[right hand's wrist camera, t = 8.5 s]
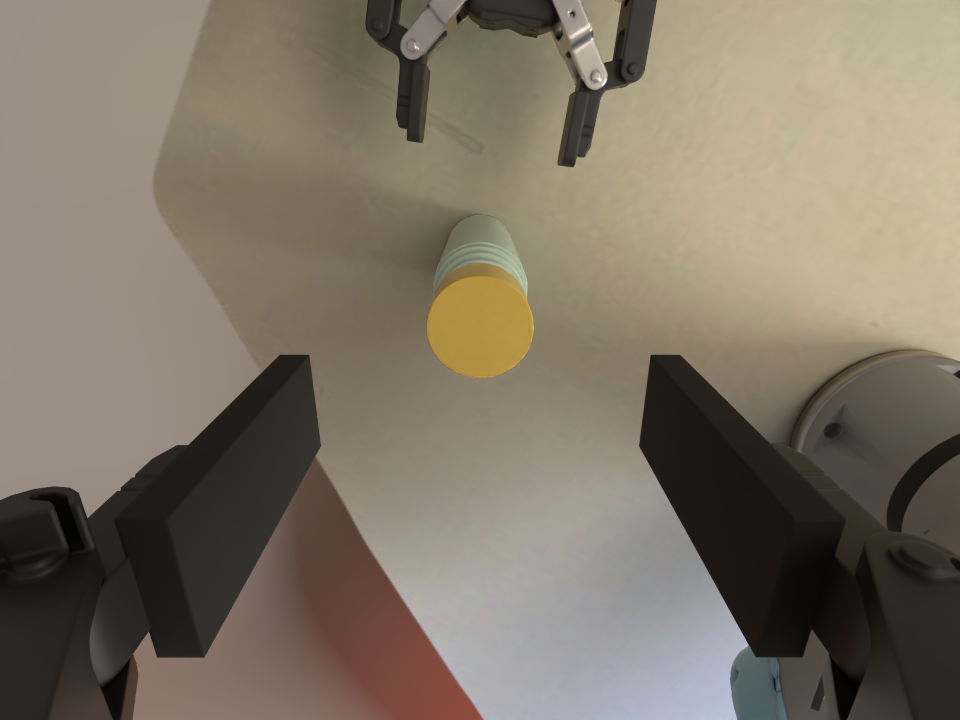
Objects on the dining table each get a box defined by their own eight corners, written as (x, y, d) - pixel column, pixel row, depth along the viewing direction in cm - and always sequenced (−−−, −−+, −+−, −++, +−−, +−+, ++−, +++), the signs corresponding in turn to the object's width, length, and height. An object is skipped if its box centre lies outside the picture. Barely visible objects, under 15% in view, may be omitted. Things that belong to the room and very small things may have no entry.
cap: (501, 370, 23) (504, 393, 21) (417, 332, 22) (409, 353, 20) (544, 288, 22) (553, 304, 19) (455, 246, 21) (453, 257, 19)
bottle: (494, 290, 38) (507, 398, 21) (437, 263, 38) (401, 352, 20) (523, 232, 37) (562, 297, 20) (464, 203, 36) (449, 244, 19)
